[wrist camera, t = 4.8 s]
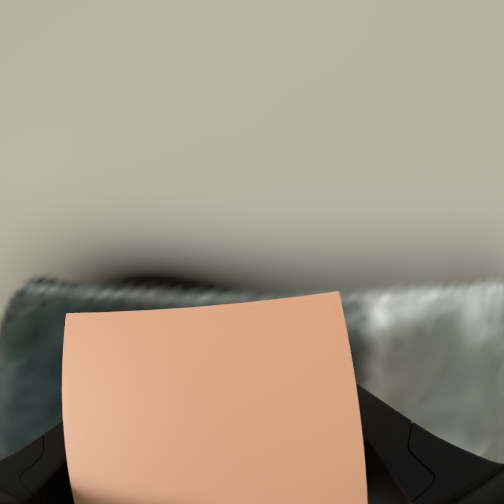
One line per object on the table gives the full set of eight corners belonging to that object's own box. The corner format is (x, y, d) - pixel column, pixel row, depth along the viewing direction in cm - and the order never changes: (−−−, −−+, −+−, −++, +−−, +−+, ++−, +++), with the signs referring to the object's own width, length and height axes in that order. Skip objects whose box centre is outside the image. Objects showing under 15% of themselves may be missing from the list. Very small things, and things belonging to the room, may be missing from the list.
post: (298, 455, 12) (367, 555, 2) (201, 461, 12) (87, 548, 2) (288, 365, 14) (339, 291, 5) (193, 373, 14) (66, 313, 5)
